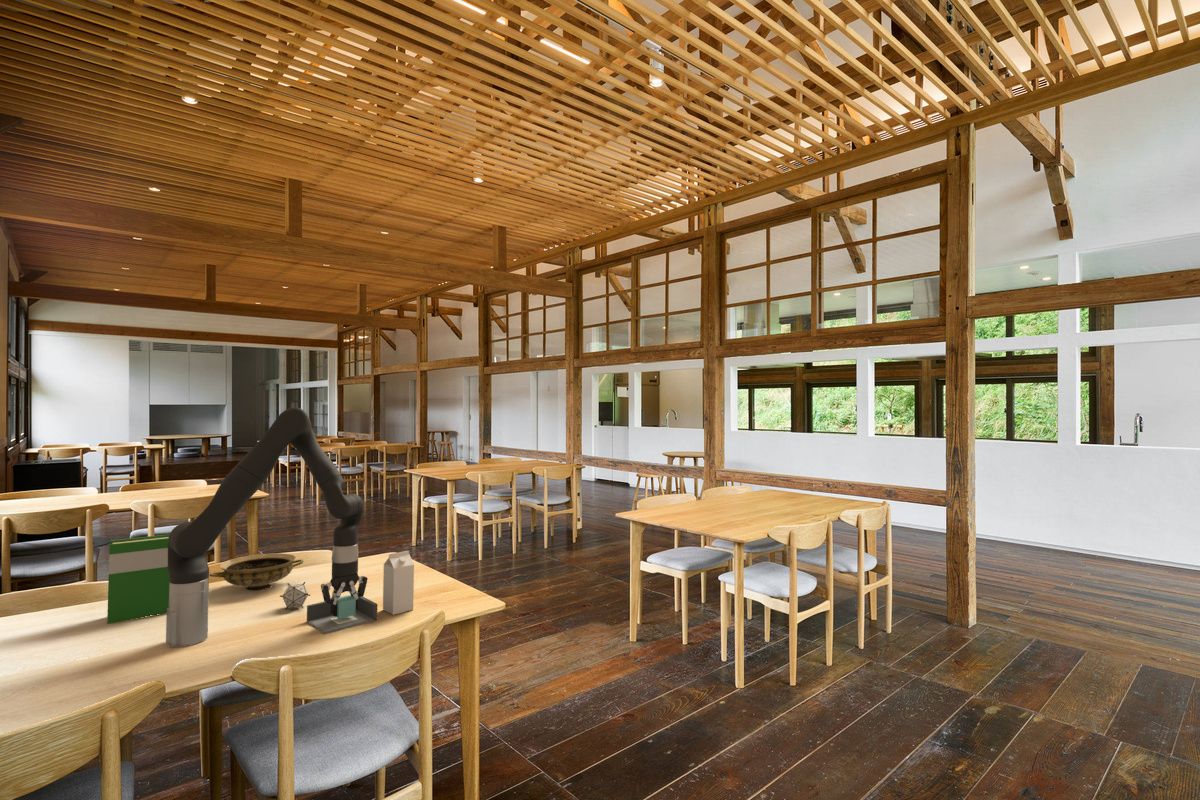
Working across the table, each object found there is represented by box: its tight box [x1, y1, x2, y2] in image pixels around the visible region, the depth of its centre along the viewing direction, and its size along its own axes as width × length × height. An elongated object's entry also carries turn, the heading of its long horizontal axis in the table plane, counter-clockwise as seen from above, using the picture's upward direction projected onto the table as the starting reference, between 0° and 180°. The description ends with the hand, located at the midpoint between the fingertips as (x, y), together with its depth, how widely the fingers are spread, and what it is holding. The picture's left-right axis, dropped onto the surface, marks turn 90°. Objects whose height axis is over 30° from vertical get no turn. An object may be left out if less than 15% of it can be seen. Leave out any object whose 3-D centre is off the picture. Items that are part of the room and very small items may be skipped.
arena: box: [306, 596, 378, 635], centre depth 179 cm, size 16×14×5 cm
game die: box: [279, 581, 311, 611], centre depth 190 cm, size 9×8×10 cm
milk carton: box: [382, 550, 415, 615], centre depth 189 cm, size 7×7×19 cm
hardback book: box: [106, 533, 170, 625], centre depth 183 cm, size 18×7×24 cm, turn 130°
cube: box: [335, 594, 356, 619], centre depth 179 cm, size 5×5×5 cm
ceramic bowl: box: [209, 552, 304, 592], centre depth 211 cm, size 30×24×10 cm
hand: (344, 613), depth 179 cm, fingers closed on cube, 5 cm apart
